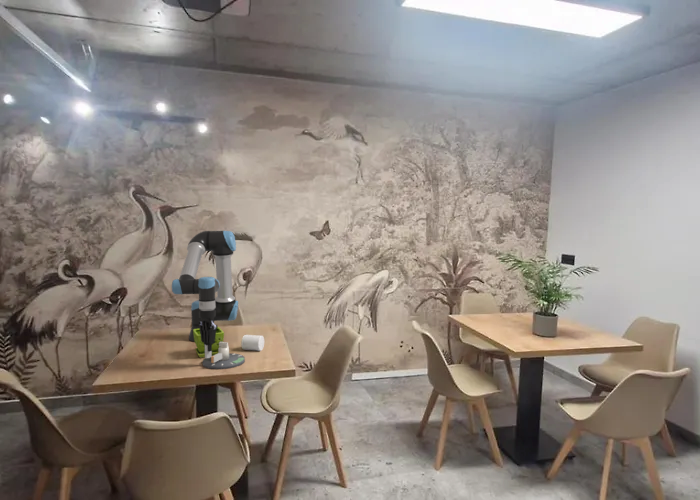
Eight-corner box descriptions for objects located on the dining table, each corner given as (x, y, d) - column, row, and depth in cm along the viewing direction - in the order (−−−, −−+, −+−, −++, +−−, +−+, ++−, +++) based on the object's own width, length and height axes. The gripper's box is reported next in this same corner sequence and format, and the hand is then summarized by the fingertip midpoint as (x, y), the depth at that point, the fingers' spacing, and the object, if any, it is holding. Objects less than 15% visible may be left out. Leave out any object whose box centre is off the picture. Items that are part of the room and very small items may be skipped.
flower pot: (196, 359, 222) (196, 335, 221) (192, 352, 234) (192, 329, 233) (225, 356, 228) (224, 331, 227) (219, 349, 240) (219, 326, 239)
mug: (258, 352, 234) (258, 337, 233) (241, 351, 236) (241, 336, 235) (267, 346, 246) (267, 332, 245) (250, 345, 248) (250, 331, 247)
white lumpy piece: (222, 357, 220) (222, 340, 220) (231, 358, 219) (230, 341, 218) (207, 364, 209) (207, 347, 209) (216, 365, 208) (216, 348, 207)
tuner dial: (196, 361, 218) (195, 358, 218) (233, 353, 231) (233, 350, 231) (213, 372, 203) (213, 368, 203) (252, 363, 216) (252, 359, 216)
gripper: (192, 308, 213) (193, 356, 214) (208, 312, 205) (209, 362, 206) (206, 306, 219) (207, 353, 220) (222, 309, 211) (222, 358, 212)
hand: (208, 357), depth 213 cm, fingers closed
